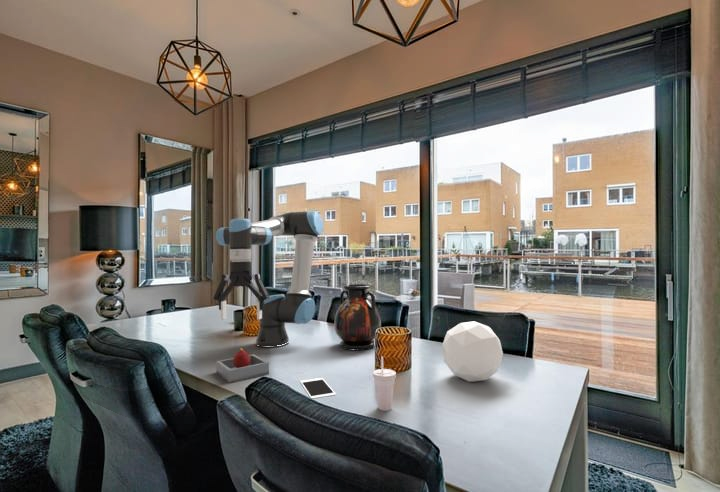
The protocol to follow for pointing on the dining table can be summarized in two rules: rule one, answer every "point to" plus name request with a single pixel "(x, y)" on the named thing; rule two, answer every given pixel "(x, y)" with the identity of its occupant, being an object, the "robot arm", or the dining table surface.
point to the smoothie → (384, 387)
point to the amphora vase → (357, 318)
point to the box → (242, 369)
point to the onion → (241, 359)
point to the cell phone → (317, 388)
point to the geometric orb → (472, 351)
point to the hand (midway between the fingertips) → (241, 319)
